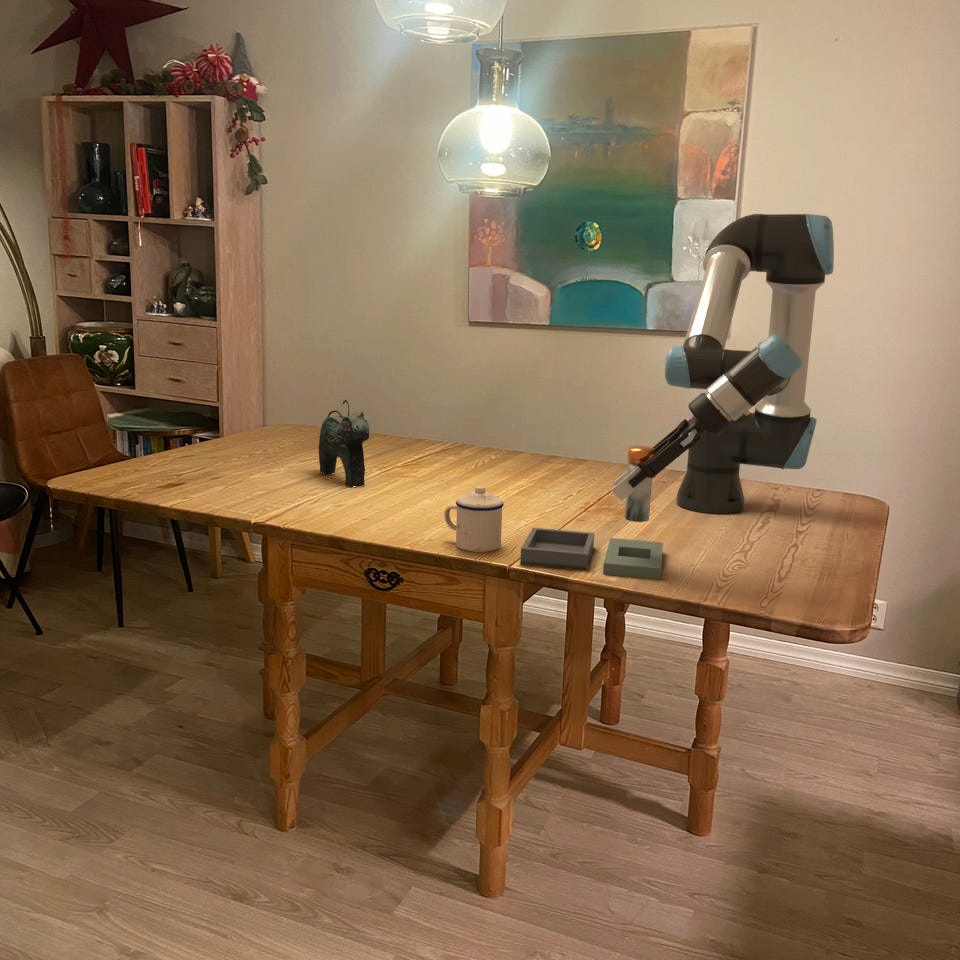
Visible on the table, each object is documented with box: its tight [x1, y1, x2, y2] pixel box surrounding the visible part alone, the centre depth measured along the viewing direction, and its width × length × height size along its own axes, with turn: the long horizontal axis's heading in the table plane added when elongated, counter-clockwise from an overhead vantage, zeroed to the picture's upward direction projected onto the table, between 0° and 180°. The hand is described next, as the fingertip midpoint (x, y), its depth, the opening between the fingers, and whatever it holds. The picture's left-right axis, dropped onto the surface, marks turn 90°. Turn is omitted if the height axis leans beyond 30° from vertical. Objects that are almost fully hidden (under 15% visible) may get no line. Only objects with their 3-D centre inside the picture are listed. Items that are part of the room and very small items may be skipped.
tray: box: [519, 527, 595, 571], centre depth 174 cm, size 14×12×3 cm
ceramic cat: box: [318, 399, 370, 488], centre depth 225 cm, size 20×6×20 cm, turn 35°
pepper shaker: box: [624, 445, 655, 523], centre depth 168 cm, size 5×5×13 cm
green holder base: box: [602, 537, 664, 580], centre depth 171 cm, size 16×10×2 cm, turn 168°
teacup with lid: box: [443, 485, 505, 553], centre depth 178 cm, size 12×9×12 cm
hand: (617, 491), depth 169 cm, fingers closed on pepper shaker, 4 cm apart
